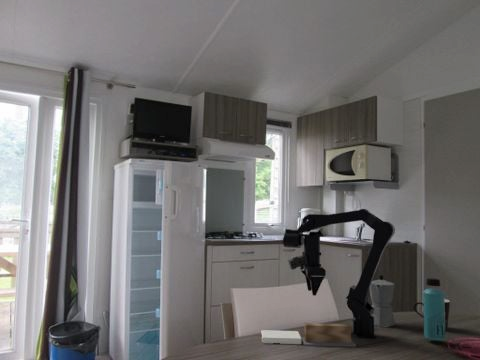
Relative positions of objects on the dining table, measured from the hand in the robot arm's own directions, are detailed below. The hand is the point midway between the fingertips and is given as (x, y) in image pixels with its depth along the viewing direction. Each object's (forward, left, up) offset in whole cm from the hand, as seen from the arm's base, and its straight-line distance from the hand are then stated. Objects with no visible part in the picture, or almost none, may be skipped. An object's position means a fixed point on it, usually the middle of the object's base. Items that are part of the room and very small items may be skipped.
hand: (311, 292), depth 143 cm
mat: (-2, +17, -12) cm, 21 cm away
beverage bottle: (-37, +14, -12) cm, 41 cm away
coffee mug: (-45, -4, -12) cm, 47 cm away
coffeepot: (-28, -8, -12) cm, 32 cm away
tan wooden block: (-2, +17, -12) cm, 21 cm away
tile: (+13, +11, -11) cm, 20 cm away
